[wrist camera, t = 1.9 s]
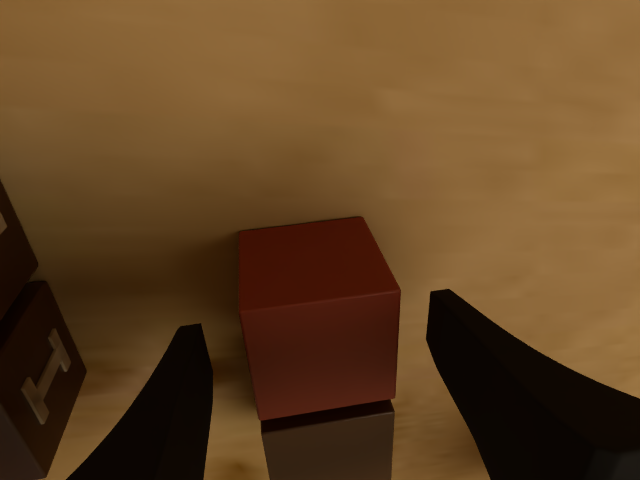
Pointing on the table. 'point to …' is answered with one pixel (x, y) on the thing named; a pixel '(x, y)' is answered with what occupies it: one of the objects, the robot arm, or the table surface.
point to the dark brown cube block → (35, 383)
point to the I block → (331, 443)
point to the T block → (12, 255)
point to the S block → (317, 317)
